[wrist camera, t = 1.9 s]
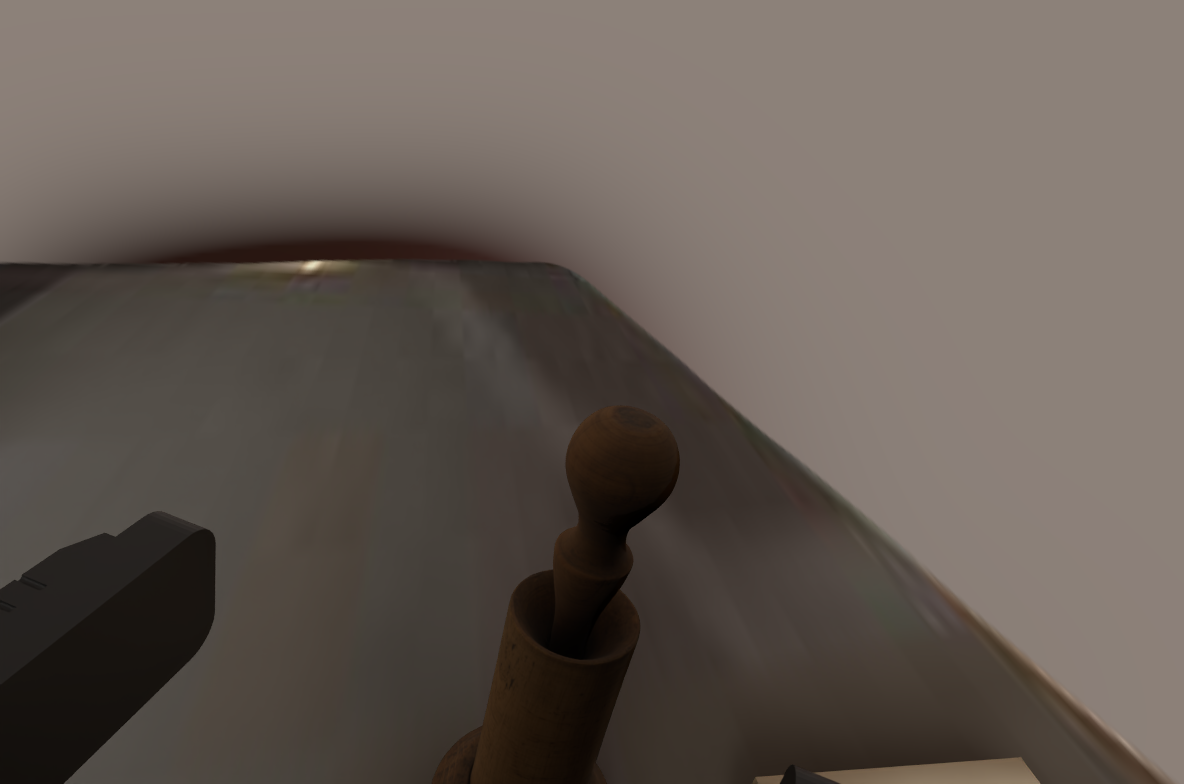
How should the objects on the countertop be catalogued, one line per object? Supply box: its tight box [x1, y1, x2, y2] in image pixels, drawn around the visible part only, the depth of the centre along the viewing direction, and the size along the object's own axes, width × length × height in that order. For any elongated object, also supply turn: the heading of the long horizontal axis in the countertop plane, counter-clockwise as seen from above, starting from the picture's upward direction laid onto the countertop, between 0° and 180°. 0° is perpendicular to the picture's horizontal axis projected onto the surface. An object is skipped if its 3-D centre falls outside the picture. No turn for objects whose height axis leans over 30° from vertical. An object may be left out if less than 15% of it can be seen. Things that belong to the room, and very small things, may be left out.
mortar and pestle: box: [432, 406, 680, 784], centre depth 26 cm, size 7×6×18 cm
